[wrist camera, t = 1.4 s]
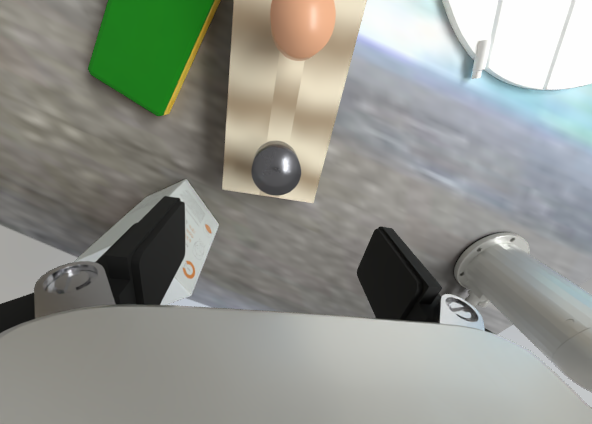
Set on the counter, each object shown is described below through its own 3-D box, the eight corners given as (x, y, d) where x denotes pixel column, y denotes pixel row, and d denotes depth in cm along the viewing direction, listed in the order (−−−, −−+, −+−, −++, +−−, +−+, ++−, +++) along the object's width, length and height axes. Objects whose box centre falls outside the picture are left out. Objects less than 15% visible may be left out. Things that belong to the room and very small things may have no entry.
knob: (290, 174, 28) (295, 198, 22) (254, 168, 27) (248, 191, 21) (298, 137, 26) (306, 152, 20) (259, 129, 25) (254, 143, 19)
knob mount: (308, 190, 32) (313, 203, 29) (228, 177, 30) (222, 189, 27) (402, -189, 18) (435, -257, 14) (259, -259, 16) (255, -357, 12)
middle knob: (312, 69, 23) (326, 63, 17) (267, 58, 22) (265, 47, 16) (323, 13, 21) (343, -16, 15) (275, -1, 20) (275, -39, 14)
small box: (145, 196, 31) (69, 261, 19) (186, 177, 30) (133, 233, 18) (183, 241, 34) (138, 317, 23) (220, 225, 34) (193, 296, 22)
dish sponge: (227, -11, 22) (222, -22, 20) (169, 116, 27) (160, 118, 25) (151, -80, 20) (136, -100, 17) (102, 73, 24) (85, 72, 22)
